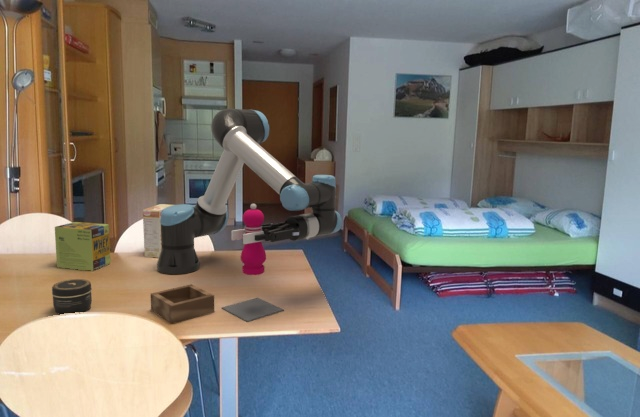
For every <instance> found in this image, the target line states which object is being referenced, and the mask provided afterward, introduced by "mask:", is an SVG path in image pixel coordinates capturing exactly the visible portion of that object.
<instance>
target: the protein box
mask: <svg viewBox="0 0 640 417" xmlns="http://www.w3.org/2000/svg"><path fill="white" fill-rule="evenodd" d="M109 224H110V223H109ZM109 224H108V223H107V224H106V223H95V222H94V223H93V222H81V221H80V222H79V221H73V222H69V223H65V224H61V225H56V226H54V236H55V237H54V238H55V256H56V268H57V267H63V268H62V269H65V268H70V269H69V270H75V269H78V271H79V270H80V271H85V270H91V271H90V272H94V270H95V271H97V270H99V269H101V268H100V267H102V268H104V267H106V266H105V265H107V266H109V265H111V264H110V263H111V261H112V260H111V245H110V243H111V242H110V240H111V238H110V225H109ZM108 264H109V265H108ZM103 266H104V267H103ZM98 268H99V269H98ZM96 269H97V270H96Z"/></svg>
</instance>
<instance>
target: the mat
mask: <svg viewBox="0 0 640 417" xmlns="http://www.w3.org/2000/svg"><path fill="white" fill-rule="evenodd" d="M221 310H222V311H225V312H227V313H229V314H230V315H233V316H235V317H237V318H238V319H241V320H243V321H244V322H246V323H250V322H252V321H255V320H259V319H262V318H265V317H268V316H272V315H275V314H278V313H280V312H284V311H285V309H284V308H281V307H279V306H277V305H275V304H273V303H270V302H269V301H267V300H266V301H265V300H263V299H262V298H259V297H254V298H251V299H247V300H243V301H240V302H236V303H233V304H229V305H226V306H222V307H221Z"/></svg>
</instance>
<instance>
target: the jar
mask: <svg viewBox="0 0 640 417" xmlns="http://www.w3.org/2000/svg"><path fill="white" fill-rule="evenodd" d="M92 291H93V290H92V283H91V281H90V280H87V279H80V278H78V279H77V278H75V279H74V278H73V279H65V280H63V281H62V280H61V281H58V282H56V283H54V284H53V285H52V287H51V293H52V294H51V295H52V304H53V309H54V311H55V312H56V313H57V314H58V313H59V314H58V315H60V314H64V313H75V312H83V313H85V312H87V311H88V310H90V308H92V307H91V306H92V301H93V300H92Z"/></svg>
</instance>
